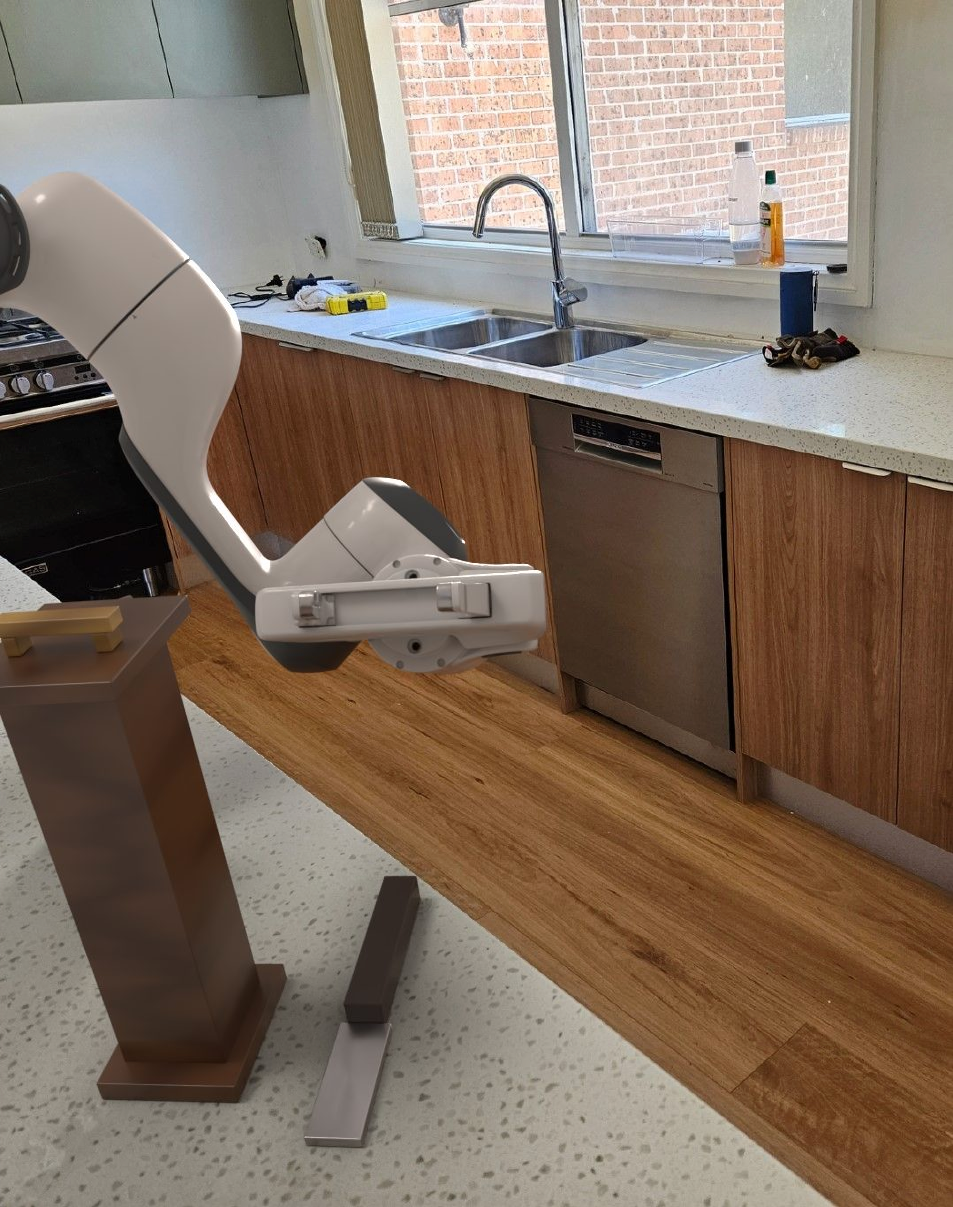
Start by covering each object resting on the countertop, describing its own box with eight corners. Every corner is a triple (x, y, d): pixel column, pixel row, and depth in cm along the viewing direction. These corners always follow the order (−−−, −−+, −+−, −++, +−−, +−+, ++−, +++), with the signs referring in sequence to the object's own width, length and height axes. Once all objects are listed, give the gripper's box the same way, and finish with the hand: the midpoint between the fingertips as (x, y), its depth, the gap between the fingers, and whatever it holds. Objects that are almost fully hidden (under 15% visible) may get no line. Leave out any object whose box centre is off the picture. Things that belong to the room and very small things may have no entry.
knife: (305, 1145, 55) (298, 1117, 54) (382, 899, 71) (378, 875, 70) (362, 1147, 54) (355, 1119, 53) (427, 899, 71) (422, 875, 70)
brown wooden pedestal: (101, 1099, 59) (-68, 654, 47) (165, 977, 67) (34, 571, 55) (239, 1102, 58) (99, 645, 46) (287, 978, 66) (179, 562, 54)
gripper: (291, 581, 83) (217, 561, 69) (554, 564, 79) (531, 540, 66) (293, 662, 82) (219, 658, 69) (558, 649, 79) (535, 642, 65)
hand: (374, 600), depth 67 cm, fingers open, 8 cm apart
